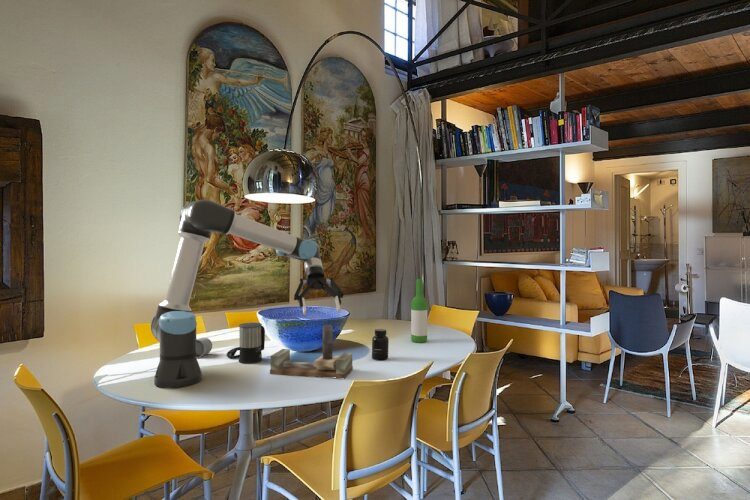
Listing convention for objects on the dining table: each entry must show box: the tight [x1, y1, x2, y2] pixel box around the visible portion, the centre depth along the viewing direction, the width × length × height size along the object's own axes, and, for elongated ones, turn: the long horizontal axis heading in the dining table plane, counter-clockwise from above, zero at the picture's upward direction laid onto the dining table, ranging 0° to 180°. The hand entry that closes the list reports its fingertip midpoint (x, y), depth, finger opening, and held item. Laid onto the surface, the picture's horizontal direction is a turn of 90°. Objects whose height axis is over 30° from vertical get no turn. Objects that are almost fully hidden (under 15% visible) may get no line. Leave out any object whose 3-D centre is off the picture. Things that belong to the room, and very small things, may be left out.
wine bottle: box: [410, 278, 428, 344], centre depth 224 cm, size 8×8×30 cm
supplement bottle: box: [371, 328, 390, 361], centre depth 192 cm, size 7×7×12 cm
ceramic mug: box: [196, 337, 213, 359], centre depth 196 cm, size 11×8×8 cm
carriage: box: [313, 324, 341, 370], centre depth 171 cm, size 7×9×16 cm
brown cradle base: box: [269, 348, 354, 379], centre depth 173 cm, size 28×12×6 cm, turn 78°
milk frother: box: [226, 322, 266, 364], centre depth 190 cm, size 14×16×15 cm
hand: (322, 312), depth 183 cm, fingers open, 13 cm apart
